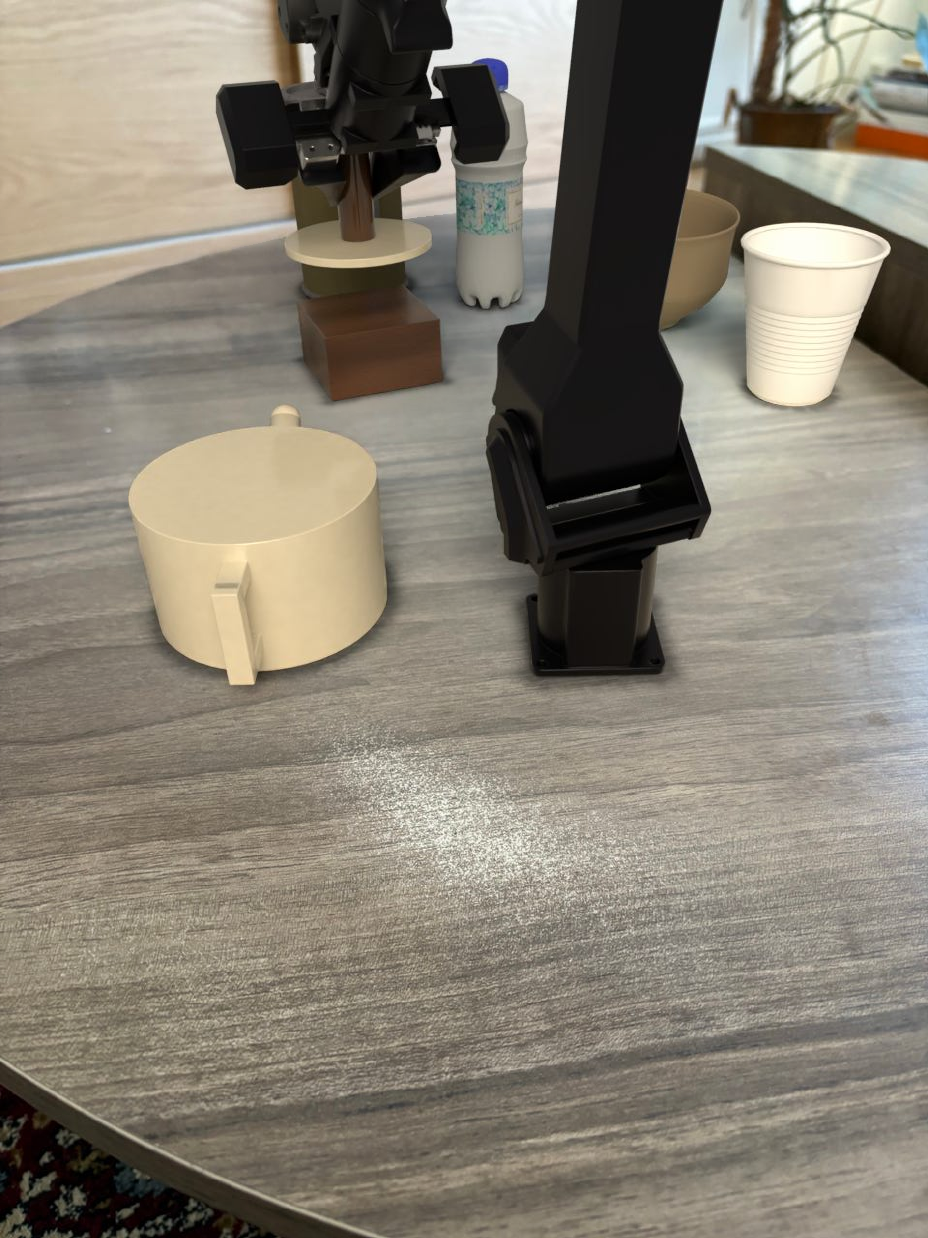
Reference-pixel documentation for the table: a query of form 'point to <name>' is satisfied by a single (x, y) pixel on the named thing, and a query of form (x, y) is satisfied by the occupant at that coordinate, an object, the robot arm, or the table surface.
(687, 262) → the bowl
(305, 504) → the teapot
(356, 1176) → the table surface
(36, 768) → the table surface
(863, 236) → the cup
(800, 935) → the table surface
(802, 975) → the table surface
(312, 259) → the lid
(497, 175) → the bottle
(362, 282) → the canister
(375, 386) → the stand
